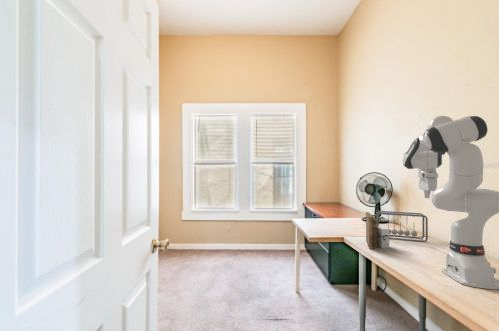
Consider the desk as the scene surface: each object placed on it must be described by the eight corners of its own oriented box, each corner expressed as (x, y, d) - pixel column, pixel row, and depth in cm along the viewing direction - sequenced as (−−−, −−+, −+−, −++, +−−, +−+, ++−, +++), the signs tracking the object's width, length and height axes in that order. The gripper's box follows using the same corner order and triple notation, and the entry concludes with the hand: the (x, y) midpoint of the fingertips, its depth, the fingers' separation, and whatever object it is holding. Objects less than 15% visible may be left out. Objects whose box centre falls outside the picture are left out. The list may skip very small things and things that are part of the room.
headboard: (377, 249, 157) (377, 217, 158) (368, 249, 159) (368, 216, 159) (373, 241, 176) (373, 212, 177) (365, 240, 178) (365, 211, 178)
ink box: (375, 244, 170) (375, 225, 170) (383, 244, 169) (383, 225, 170) (381, 248, 161) (381, 228, 161) (389, 248, 161) (389, 228, 161)
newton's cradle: (424, 239, 184) (424, 213, 185) (427, 242, 175) (427, 215, 175) (376, 234, 196) (376, 210, 196) (377, 238, 186) (377, 212, 186)
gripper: (415, 174, 166) (415, 196, 166) (426, 174, 147) (426, 199, 147) (427, 174, 164) (427, 196, 164) (439, 174, 145) (439, 200, 145)
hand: (427, 198), depth 155 cm, fingers closed
